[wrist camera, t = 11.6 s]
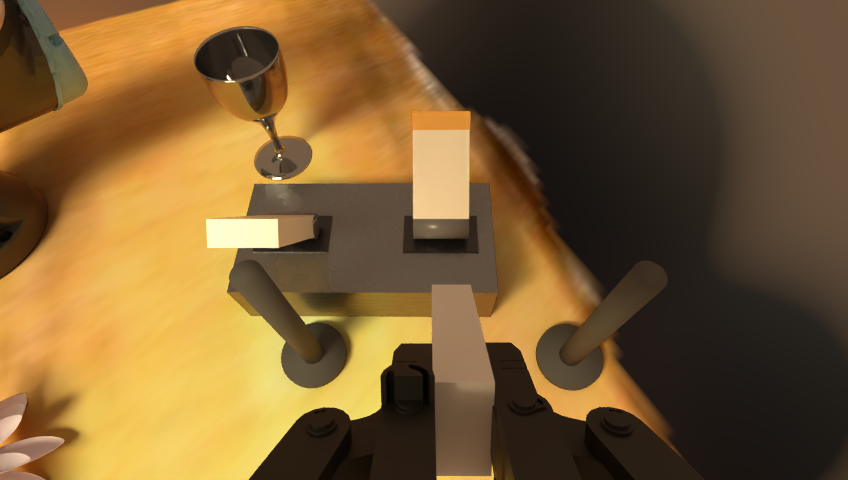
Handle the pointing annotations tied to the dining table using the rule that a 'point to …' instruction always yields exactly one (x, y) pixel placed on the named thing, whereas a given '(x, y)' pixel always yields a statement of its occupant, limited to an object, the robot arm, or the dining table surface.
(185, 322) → the dining table surface
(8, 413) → the water lily
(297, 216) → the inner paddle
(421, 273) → the panel
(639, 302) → the post
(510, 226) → the dining table surface
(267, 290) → the post
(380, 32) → the dining table surface
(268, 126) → the wine glass
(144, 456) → the dining table surface
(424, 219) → the panel
